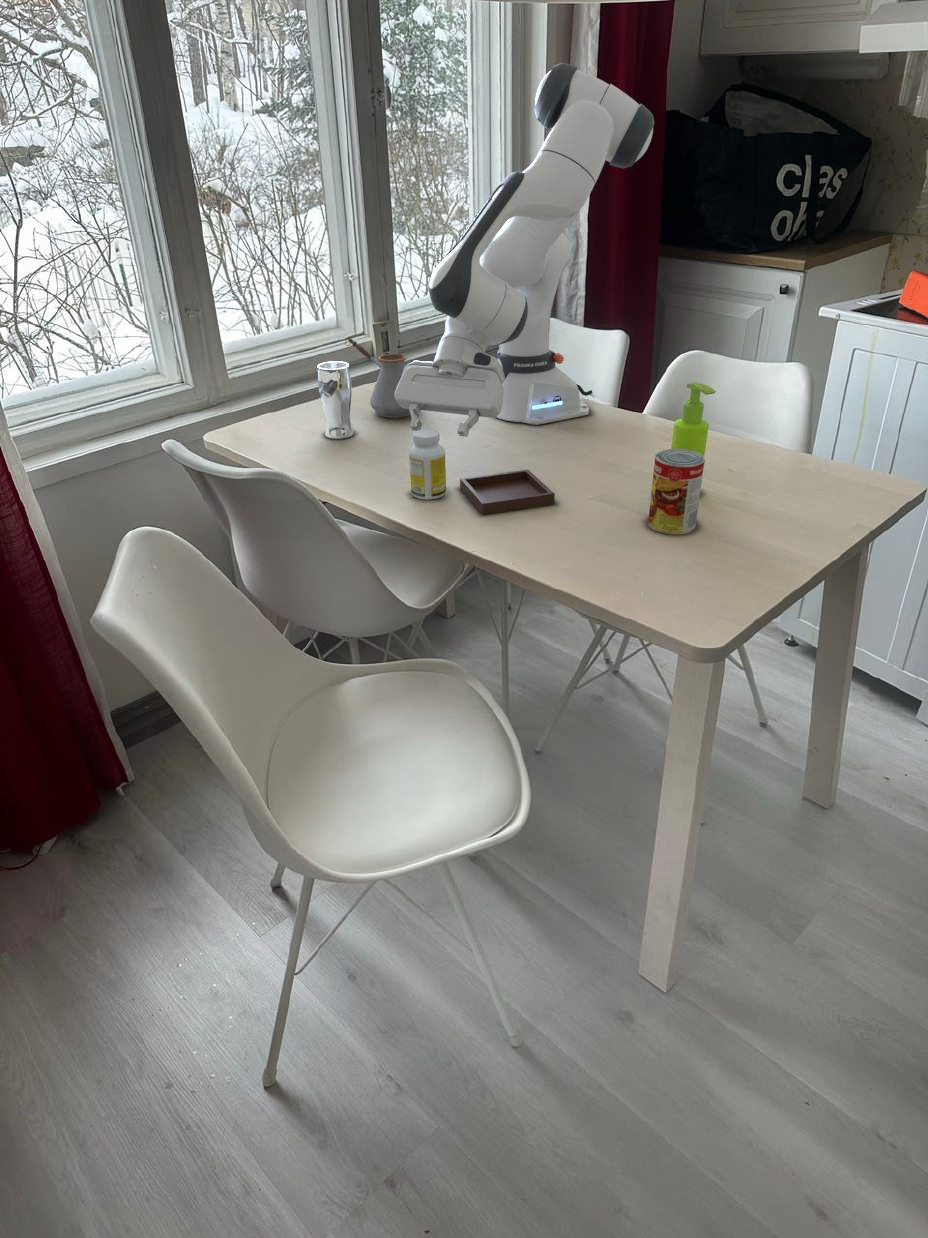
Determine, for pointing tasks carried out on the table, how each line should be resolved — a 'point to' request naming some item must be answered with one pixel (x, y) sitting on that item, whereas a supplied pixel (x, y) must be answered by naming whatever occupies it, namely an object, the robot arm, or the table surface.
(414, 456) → the pill bottle
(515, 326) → the robot arm
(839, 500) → the table surface
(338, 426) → the beer glass
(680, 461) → the canned food
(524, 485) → the tray
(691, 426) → the soap dispenser
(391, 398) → the coffee pot
